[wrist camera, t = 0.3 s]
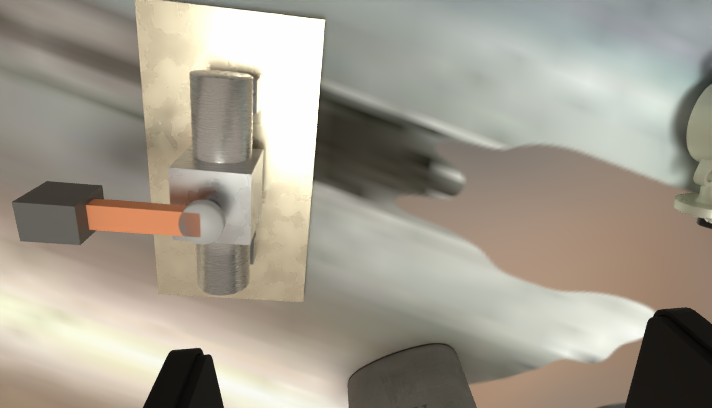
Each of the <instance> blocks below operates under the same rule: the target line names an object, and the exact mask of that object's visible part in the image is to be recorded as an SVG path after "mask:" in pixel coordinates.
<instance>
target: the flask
mask: <svg viewBox="0 0 712 408" xmlns="http://www.w3.org/2000/svg"><path fill="white" fill-rule="evenodd" d="M348 401H349V408H477V407H476V404H475V402H474V399H473V396H472V394H471V391H470V388H469V386H468V383H467V380H466V378H465V375H464V373H463V370H462V367H461V365H460V362H459V359H458V357H457V354H456V352H455V351H454V349H453V348H451V347H449V346H447V345H442V344H431V345H426V346H421V347H416V348H412V349H408V350H405V351H401V352H398V353H395V354H393V355H390V356H387V357H385V358H382V359H380V360H378V361H376V362H374V363H372V364H370V365H368V366H366V367H364V368H362V369H361V370H359V371H358V372H356V373H355V374H354V375H353V376H352V377H351V378H350V379H349V382H348Z"/></svg>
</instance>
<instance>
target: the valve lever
mask: <svg viewBox="0 0 712 408" xmlns="http://www.w3.org/2000/svg"><path fill="white" fill-rule="evenodd" d="M12 205H13V209H14V214H15V219H16V223H17V228H18V232H19V237H20V241H27V242H42V243H57V244H73V245H81V244H82V243H83V242H84V241H85V240H86V239H87V238H88V237H90V236H91V235H92V234H93V233H94V232H95V231H96V230H99V231H114V232H128V233H143V234H158V235H172V236H184V237H185V238H186V239H187V240H189V241H191V242H193V243H196V244H209V243H212V242H214V241H215V240H217V239H218V238H219V236H220V235H221V233H222V231H223V229H224V226H225V223H226V218H225V214H224V212H223V210H222V209H221V208H220V207H219V206H218V205H217V204H215V203H214V202H211V201H208V200H196V201H193V202H191V203H190V204H189V205H188V206H185V205H172V204H158V203H145V202H132V201H119V200H105V199H104V196H103V189H102V186H101V185H88V184H75V183H63V182H50V181H47V182H45V183H43V184H41V185H40V186H38V187H36V188H35V189H33V190H31V191H30V192H28V193H26V194H25V195H23V196H21V197H20V198H18V199H16V200H15V201H13V202H12Z"/></svg>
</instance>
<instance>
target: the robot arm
mask: <svg viewBox="0 0 712 408" xmlns="http://www.w3.org/2000/svg"><path fill="white" fill-rule="evenodd" d="M143 408H224V406H223V402H222V397H221V393H220V389H219V385H218V380H217V376H216V372H215V368H214V363H213V359H212V356H211V355H209V354H208V355H204V354H203V351H202V350H201V348H193V349H181V350H172V351H171V352H170V353H169V354H168V356H167V358H166V360H165V362H164V364H163V366H162V368H161V371H160V373H159V375H158V377H157V379H156V381H155V383H154V385H153V387H152V390H151V392H150V394H149V396H148V398H147V400H146V402H145V404H144V406H143ZM625 408H712V324H711V323H710V322H709V321H707V320H706V319H705V318H703V317H702V316H701V315H700V314H698V313H697V312H696V311H694V310H692V309H691V308H686V307H685V308H673V309H662V310H658V311H656V312H655V314H654V316H653V317H652V318H650V319H649V320H648V322H647V326H646V330H645V333H644V337H643V341H642V345H641V349H640V353H639V356H638V360H637V364H636V367H635V371H634V376H633V379H632V383H631V386H630V390H629V394H628V398H627V402H626V405H625Z"/></svg>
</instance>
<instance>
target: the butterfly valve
mask: <svg viewBox="0 0 712 408" xmlns="http://www.w3.org/2000/svg"><path fill="white" fill-rule="evenodd" d="M687 147H688V150H689V153H690V155H691V156H692V157H693V158H694V159H695V160H696V161H698V162H700V163H699V165H698V167H697V169H696V171H695V173H694V178H693V179H694V183H695V184H698V185H701V188H700V192H699V193H687V194H680V195H677V196H676V198H675V202H674V208H675V209H677V210H678V211H680V212H683V213H685V214H688V215H692V216H695V217H698V219H697V224H698V225H700V226H703V227H706V228H710V229H712V84H710V85H709V86H708V87H707V88H706V89H705V90H704V91H703V93H702V94H701V95H700V97H699V98H698V100H697V102H696V104H695V106H694V108H693V110H692V113H691V115H690V119H689V122H688V127H687Z"/></svg>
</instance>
